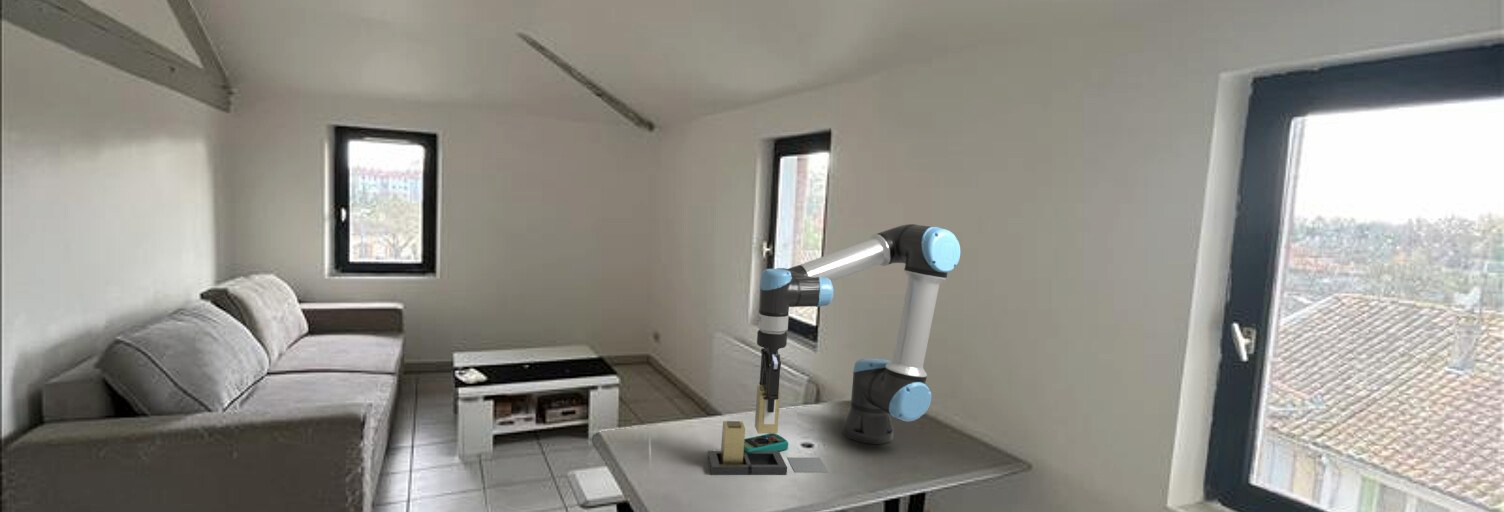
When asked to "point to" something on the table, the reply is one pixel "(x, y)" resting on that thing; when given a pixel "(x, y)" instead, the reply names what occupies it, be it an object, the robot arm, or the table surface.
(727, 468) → the dark grey block holder
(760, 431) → the tan rectangular block
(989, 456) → the table surface
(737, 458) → the gold rectangular block
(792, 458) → the mat
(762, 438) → the digital multimeter
